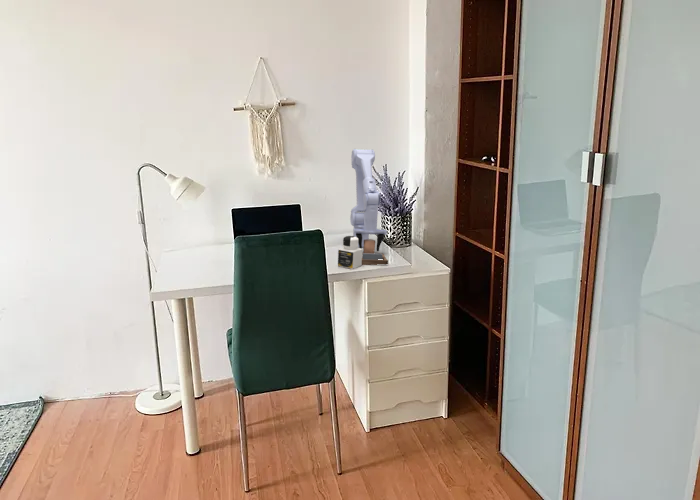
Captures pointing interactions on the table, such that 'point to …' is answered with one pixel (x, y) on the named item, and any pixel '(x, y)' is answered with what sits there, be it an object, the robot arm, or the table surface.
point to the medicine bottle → (350, 253)
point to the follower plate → (371, 256)
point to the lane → (375, 261)
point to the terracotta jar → (369, 246)
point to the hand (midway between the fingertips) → (369, 250)
